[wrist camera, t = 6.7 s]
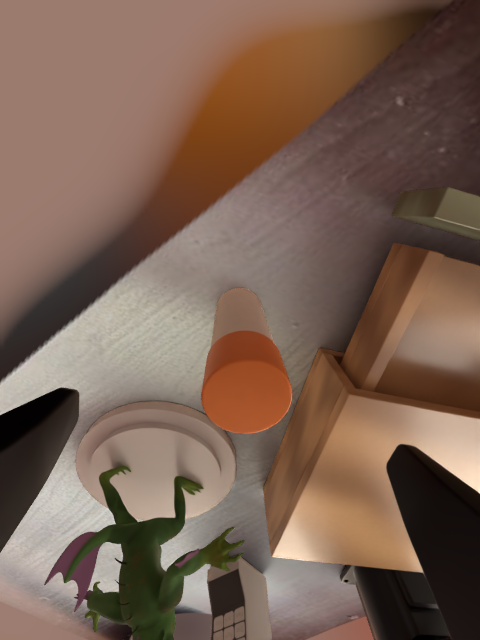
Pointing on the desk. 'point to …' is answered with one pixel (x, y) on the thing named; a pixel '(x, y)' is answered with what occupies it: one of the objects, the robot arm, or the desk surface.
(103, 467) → the monster figurine
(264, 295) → the desk surface
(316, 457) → the cabinet
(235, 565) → the vintage mobile phone
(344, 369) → the drawer
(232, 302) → the glue stick
